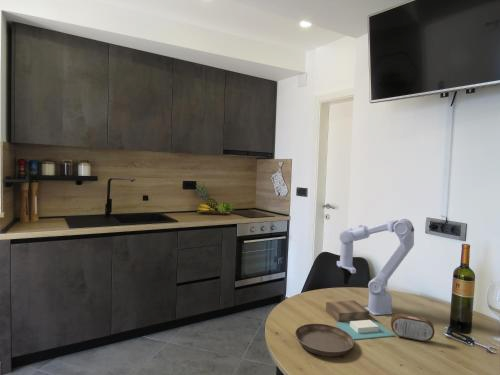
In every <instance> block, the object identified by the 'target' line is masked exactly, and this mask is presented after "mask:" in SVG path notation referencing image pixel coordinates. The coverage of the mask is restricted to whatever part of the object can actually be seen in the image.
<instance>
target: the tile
mask: <svg viewBox="0 0 500 375" xmlns="http://www.w3.org/2000/svg"><path fill="white" fill-rule="evenodd" d="M371 320H372V319H369V320H360V321H350V327H351V328H353V329H354V330H355V331H356V332H357V333H366V332H377V331H379V326H378V325H376V324H375V323H374V322H372V321H371Z"/></svg>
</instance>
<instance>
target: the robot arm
mask: <svg viewBox="0 0 500 375" xmlns="http://www.w3.org/2000/svg"><path fill="white" fill-rule="evenodd" d="M386 231H387V232H389V233H395V235H396V236H397V238H398V239H399V246H398V247H396V249H395V251H394V252H393V254H391V256H390V258H389V259H388V260H387V262H386V263H385V264H384V266H382V268H381V270H380V271H379V272H378V274H377V275H374V277H373V278H372V279H371V280H369V281H368V284H367V287H368V306H365V307H364V306H363V307H364V308H366V309H367V310H368V311H369V314H371V315H373V316H381V315H392V314H393V312H392V304H393V298H392V294H391V293H390V292H389V291H387V290H386V287H387V286H388V282H389V279H390V278H391V276H393V274H394V272H395V271H396V270H397V268H398V267H399V266H400V265H401V263H402V262H403V260H405V258H406V257H407V256H408V254H409V253H410V251H411V250H412V248H413V247H414V245H415V227H414V225H413V223H412V221H410V219H407V218H402V219H396V220H391V221H386V222H383V223H379V224H375V225H373V226H370V227H368V226H366V225H362V224H360V225H358V227H354V228H352V227H350V228H348V230H343V231H342V232H340V234H339V236H338V237H339V241H340V252H339V253H340V254H339V256H340V257H339V260H336V266H337V267H338V269H337V270H338V271H339V273H340V277H341V283H342V284H343V285H348V284H349V281H350V278H351V277H352V274H356V273H357V269H356V268H355V267H354V265H353V259H354V258H353V256H354V242H356V241H360V240H361V241H362V240H365V239H368V238H370V236H371V235H372V234H377V233H380V232H386Z"/></svg>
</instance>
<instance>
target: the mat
mask: <svg viewBox="0 0 500 375" xmlns="http://www.w3.org/2000/svg"><path fill="white" fill-rule="evenodd" d="M370 320H371V321H372V322H374V323H375V324H376V325H378V326H379V331H377V332H366V333H357V332H356V331H355V330H354V329H353V328H351V327H350V321H349V322H337V321H336V322H334V325H336V326H337V328H340V329H342V330H344V331H345V332H347V333H348V334H349V335H350V336H351V337H352V338H353V340H354V341H356V340H358V341H359V340H367V339H369V340H370V339H378V338H389V337H390V338H391V337H395V335H396V334H395V333H392V332H391V331H390V330H389V329H387V328H386V327H385V326H383V325H382V324H380V323H379V322H378V321H376V320H375V319H370Z"/></svg>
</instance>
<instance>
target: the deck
mask: <svg viewBox="0 0 500 375" xmlns="http://www.w3.org/2000/svg"><path fill="white" fill-rule="evenodd" d="M325 312H326V313H327V314H329V315H330V317H331V318H333V319H334V320H335V321H336V322H349V321H360V320H370V312H369V311H368V310H367V309H366V308H364V306H363V305H362V304H360V303H359V302H357V301H356V300H344V301H343V300H340V301H339V300H338V301H327V302H325Z"/></svg>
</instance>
